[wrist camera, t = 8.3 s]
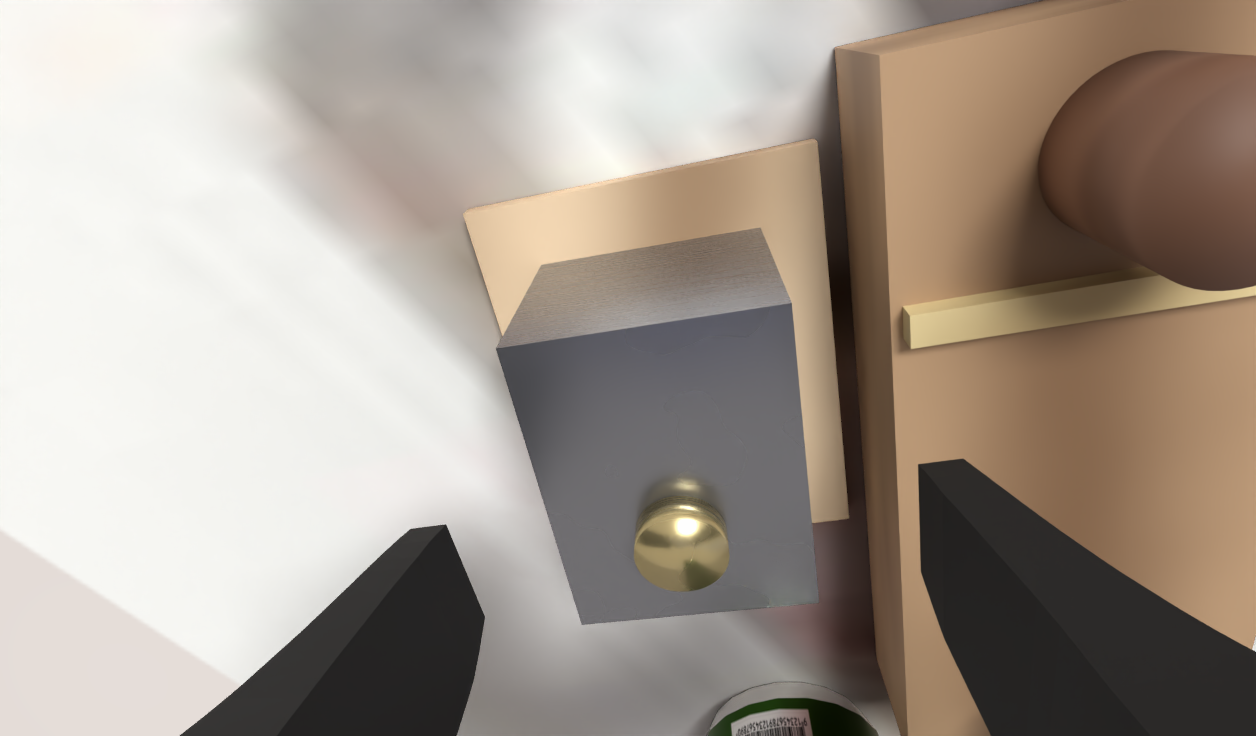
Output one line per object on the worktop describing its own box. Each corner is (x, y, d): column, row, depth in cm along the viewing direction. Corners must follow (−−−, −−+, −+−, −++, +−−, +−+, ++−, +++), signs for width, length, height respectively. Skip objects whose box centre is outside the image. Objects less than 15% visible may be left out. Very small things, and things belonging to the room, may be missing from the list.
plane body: (1268, -50, 11) (1718, -102, 6) (1145, 633, 18) (1314, 853, 13) (834, 46, 12) (938, 66, 7) (876, 657, 19) (943, 870, 14)
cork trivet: (814, 138, 13) (817, 142, 13) (845, 508, 17) (848, 518, 16) (468, 208, 14) (462, 214, 14) (574, 541, 18) (572, 552, 18)
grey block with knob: (760, 227, 13) (798, 319, 9) (786, 473, 16) (825, 628, 12) (541, 264, 14) (486, 365, 10) (601, 495, 17) (578, 650, 13)
